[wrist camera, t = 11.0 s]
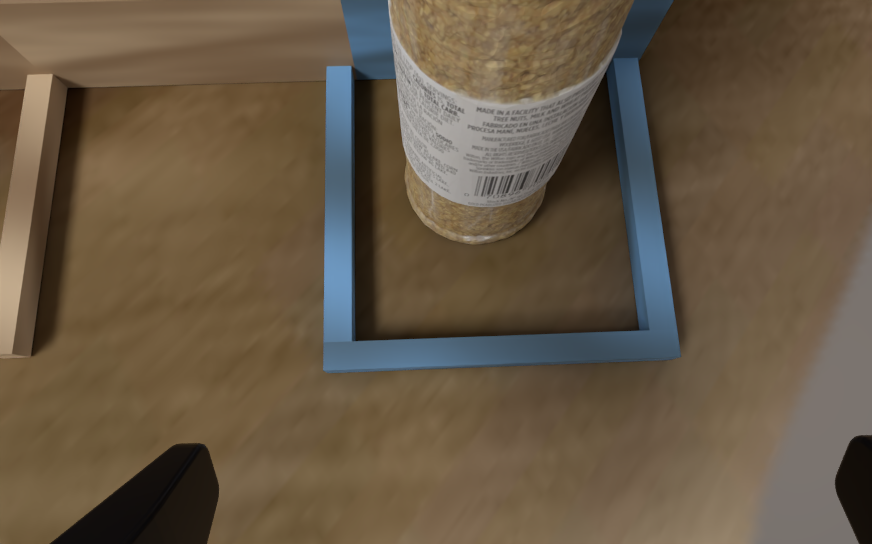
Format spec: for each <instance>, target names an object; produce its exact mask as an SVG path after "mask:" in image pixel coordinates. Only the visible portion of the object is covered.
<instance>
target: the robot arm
mask: <svg viewBox="0 0 872 544" xmlns="http://www.w3.org/2000/svg"><path fill="white" fill-rule="evenodd" d="M835 488H836V492H837V495H838V498H839V500H840V503H841V505H842V507H843V509H844V511H845V514H846V516H847V518H848V520H849V522H850V524H851V527H852V529H853V531H854V533H855V536H856V538H857V540H858V542H859V544H872V435H861V436H856V437H854V438H853V439H852V440H851V441H850V443H849V445H848V447H847V450H846V452H845V455H844V457H843V460H842V462H841V465H840V467H839V469H838V472H837V475H836V478H835ZM218 497H219V484H218V480H217V477H216V474H215V470H214V467H213V464H212V460H211V457H210V454H209V451H208V449H207V447H206V446H205V445H204V444H201V443H188V444H176V445H174V446H172V447H170V448H169V449H168V450H167V451H165V452H164V453H163V454H162V455H160V456H159V457H158V458H157V459H155V460H154V461H153V462H152V463H150V464H149V465H148V466H147V467H145V468H144V469H143V470H141V471H140V472H139V473H138V474H136V475H135V476H134V477H133V478H131V479H130V480H129V481H128V482H126V483H125V484H124V485H123V486H121V487H120V488H119V489H118V490H116V491H115V492H114V493H113V494H111V495H110V496H109V497H108V498H106V499H105V500H104V501H103V502H101V503H100V504H99V505H98V506H96V507H95V508H94V509H93V510H91V511H90V512H89V513H88V514H86V515H85V516H84V517H83V518H81V519H80V520H79V521H78V522H76V523H75V524H74V525H73V526H71V527H70V528H69V529H68V530H66V531H65V532H64V533H63V534H61V535H60V536H59V537H58V538H56V539H55V540H54V541H53V542H51V543H50V544H207V541H208V538H209V534H210V530H211V526H212V522H213V518H214V514H215V510H216V506H217V502H218Z"/></svg>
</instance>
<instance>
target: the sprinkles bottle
mask: <svg viewBox="0 0 872 544" xmlns="http://www.w3.org/2000/svg"><path fill="white" fill-rule="evenodd" d="M633 2H634V0H388V6H389V17H390V27H391V37H392V46H393V54H394V63H395V72H396V81H397V92H398V102H399V113H400V123H401V132H402V140H403V146H404V150H405V153H406V160H407V165H406V168H405V182H406V186H407V195H408V198H409V200H410V203H411V205H412V208H413V209H414V211H415V212H416V214H417V215H418V216H419V218H420V219H421V220H422V222H423V223H424V224H425V225H426V226H428V227H429V228H431V229H432V230H433V231H435V232H436V233H437V234H439V235H441V236H444V237H446V238H448V239H450V240H452V241H458V242H461V243H465V244H473V245H477V244H484V243H492V242H495V241H498V240H500V239H505V238H508V237H510V236H512V235H513V234H515V233H516V232H517V231H519V230H520V229H522V228H523V227H524V226H525V225H526V224H527V223H528V222H530V220H531V219H532V218H533V216H534V214H535V212H536V211H537V209H538V208H539V207H540V205H541V203H542V201H543V198H544V194H545V189H546V184H547V181H548V180H549V179H550V178H551V177H552V175H553V174H554V173H555V171H556V169H557V168H558V166H559V164H560V162H561V160H562V158H563V156H564V154H565V152H566V150H567V148H568V146H569V144H570V142H571V140H572V138H573V136H574V134H575V132H576V130H577V128H578V127H579V124H580V122H581V120H582V118H583V116H584V114H585V112H586V110H587V108H588V106H589V104H590V102H591V100H592V98H593V96H594V94H595V92H596V90H597V88H598V86H599V84H600V82H601V80H602V78H603V76H604V73H605V71H606V69H607V67H608V65H609V63H610V61H611V59H612V57H613V55H614V53H615V50H616V48H617V46H618V43H619V40H620V37H621V35H622V27H623V25H624V22H625V20H626V18H627V15H628V13H629V11H630V9H631V7H632V4H633Z"/></svg>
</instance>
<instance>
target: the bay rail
mask: <svg viewBox="0 0 872 544" xmlns="http://www.w3.org/2000/svg"><path fill="white" fill-rule="evenodd" d="M673 1H674V0H634V2H633V4H632V7H631V9H630V11H629V13H628V15H627V18H626V20H625V22H624V25H623V27H622V35H621V37H620V40H619V43H618V46H617V48H616V50H615V53H614V55H613V57H612V59H611V61H610V63H609V65H608V67H607V69H606V71H605V73H606V74H607V82H608V90H609V97H610V105H611V113H612V121H613V129H614V136H615V144H616V152H617V160H618V167H619V175H620V183H621V191H622V199H623V206H624V214H625V222H626V230H627V237H628V245H629V253H630V261H631V269H632V276H633V284H634V292H635V300H636V307H637V315H638V323H639V331H616V332H590V333H563V334H536V335H509V336H482V337H455V338H428V339H402V340H375V341H355V147H354V80H367V79H396V72H395V63H394V54H393V46H392V37H391V27H390V17H389V6H388V0H0V90H13V89H25V94H24V100H23V106H22V113H21V119H20V125H19V132H18V138H17V144H16V151H15V157H14V163H13V170H12V176H11V182H10V189H9V195H8V201H7V207H6V214H5V220H4V226H3V233H2V239H1V245H0V358H22V357H31V351H32V344H33V336H34V329H35V322H36V315H37V307H38V300H39V293H40V285H41V278H42V271H43V264H44V256H45V249H46V242H47V235H48V227H49V220H50V213H51V205H52V198H53V191H54V184H55V176H56V169H57V162H58V154H59V147H60V140H61V133H62V125H63V118H64V111H65V104H66V96H67V89H68V88H84V87H120V86H155V85H190V84H226V83H261V82H296V81H326V167H325V265H324V363H323V371H325V372H327V373H342V372H369V371H395V370H421V369H447V368H473V367H499V366H525V365H551V364H578V363H604V362H630V361H656V360H672V359H675V358H679V357H681V353H680V346H679V339H678V332H677V325H676V318H675V312H674V305H673V298H672V291H671V284H670V277H669V270H668V263H667V256H666V250H665V243H664V236H663V229H662V222H661V215H660V208H659V201H658V194H657V188H656V181H655V174H654V167H653V160H652V153H651V146H650V139H649V132H648V126H647V119H646V112H645V105H644V98H643V91H642V84H641V77H640V70H639V64H638V61H639V60H640V58H641V56H642V55H643V53H644V51H645V49H646V48H647V46H648V44H649V42H650V41H651V39H652V37H653V35H654V34H655V32H656V30H657V28H658V27H659V25H660V23H661V22H662V20H663V18H664V16H665V15H666V13H667V11H668V9H669V8H670V6H671V4H672V2H673Z"/></svg>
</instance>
